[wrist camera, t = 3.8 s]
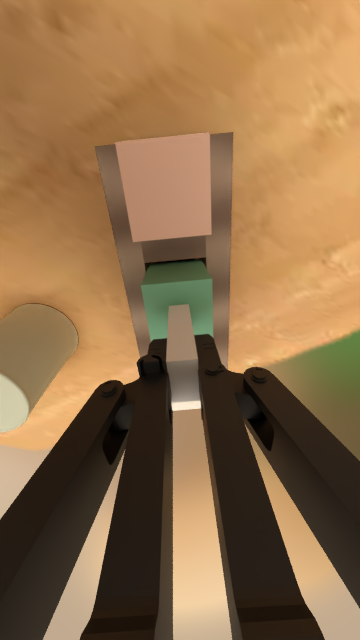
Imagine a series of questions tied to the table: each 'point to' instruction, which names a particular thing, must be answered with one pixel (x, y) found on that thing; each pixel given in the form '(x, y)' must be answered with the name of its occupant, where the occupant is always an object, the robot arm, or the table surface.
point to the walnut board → (175, 241)
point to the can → (31, 358)
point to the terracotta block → (167, 185)
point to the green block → (178, 295)
